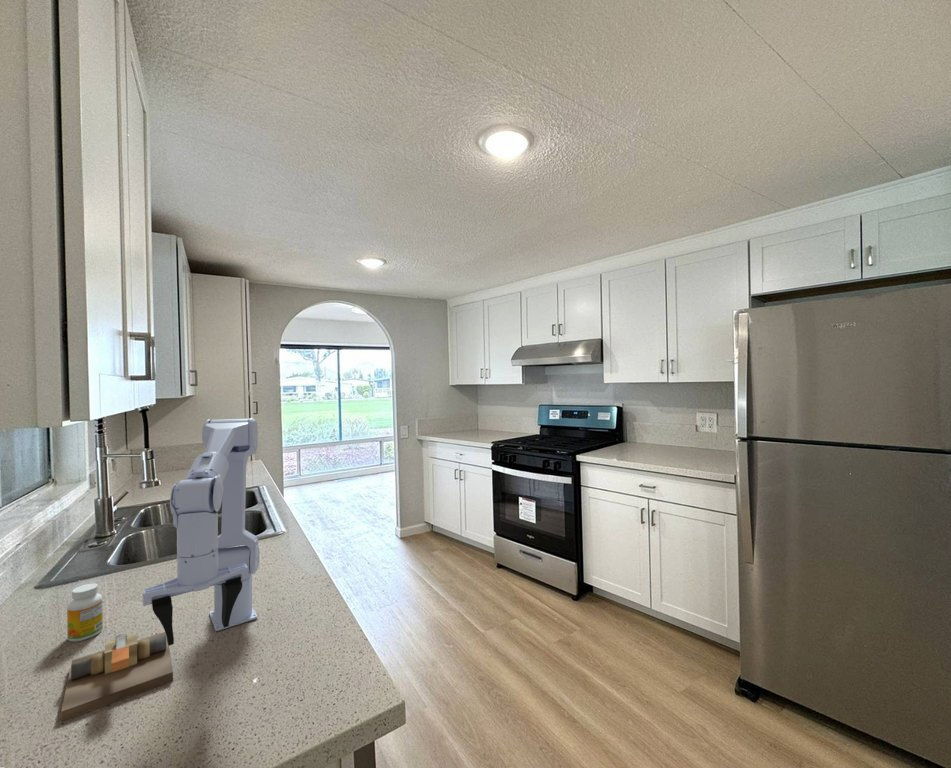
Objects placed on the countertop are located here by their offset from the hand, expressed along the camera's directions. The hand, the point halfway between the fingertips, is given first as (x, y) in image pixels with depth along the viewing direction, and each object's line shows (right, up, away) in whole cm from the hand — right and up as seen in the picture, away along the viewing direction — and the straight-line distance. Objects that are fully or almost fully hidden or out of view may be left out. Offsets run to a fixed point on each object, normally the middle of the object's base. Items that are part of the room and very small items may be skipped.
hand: (198, 633), depth 71 cm
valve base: (-18, -10, +6) cm, 21 cm away
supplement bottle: (-35, -11, +18) cm, 41 cm away
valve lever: (-15, -5, +3) cm, 16 cm away
